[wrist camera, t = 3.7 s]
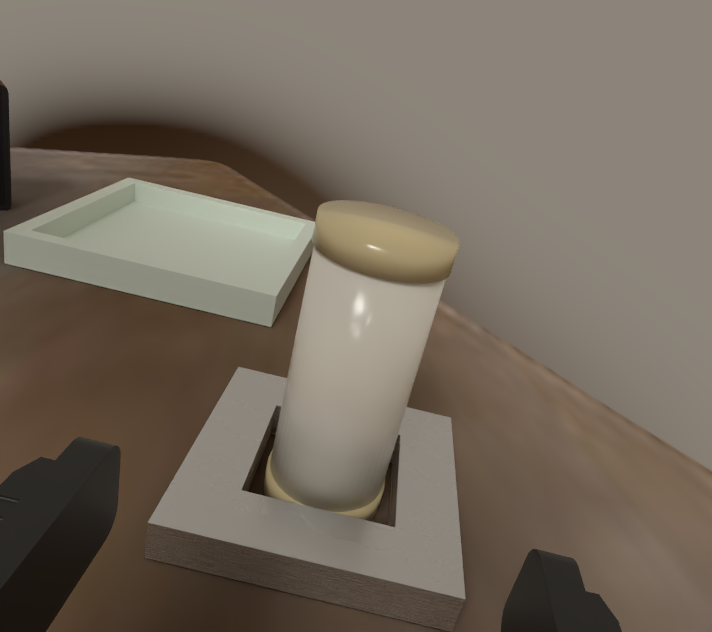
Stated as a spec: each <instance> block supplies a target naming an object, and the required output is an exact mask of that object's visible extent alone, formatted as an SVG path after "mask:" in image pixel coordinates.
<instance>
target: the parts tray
mask: <svg viewBox="0 0 712 632" xmlns="http://www.w3.org/2000/svg"><path fill="white" fill-rule="evenodd" d="M314 226H315V222H312V221H308V220H304V219H300V218H296V217H292V216H287V215H283V214H279V213H275V212H271V211H266V210H262V209H258V208H254V207H250V206H245V205H241V204H237V203H233V202H229V201H225V200H220V199H216V198H212V197H208V196H204V195H199V194H195V193H191V192H187V191H183V190H179V189H174V188H170V187H166V186H162V185H158V184H153V183H149V182H145V181H141V180H137V179H132V178H126V179H124V180H122V181H119V182H117V183H115V184H112V185H110V186H108V187H105V188H103V189H101V190H98V191H96V192H93V193H91V194H89V195H86V196H84V197H82V198H79V199H77V200H75V201H72V202H70V203H68V204H65V205H63V206H61V207H58V208H56V209H54V210H51V211H49V212H47V213H44V214H42V215H40V216H37V217H35V218H33V219H30V220H28V221H26V222H23V223H21V224H18V225H16V226H14V227H11V228H9V229H7V230H4V231H3V232H4V262H5V264H10V265H14V266H18V267H22V268H26V269H30V270H35V271H39V272H43V273H47V274H51V275H55V276H60V277H64V278H68V279H72V280H76V281H80V282H85V283H89V284H93V285H97V286H101V287H105V288H110V289H114V290H118V291H122V292H126V293H131V294H135V295H139V296H143V297H147V298H151V299H156V300H160V301H164V302H168V303H172V304H176V305H181V306H185V307H189V308H193V309H197V310H201V311H206V312H210V313H214V314H218V315H222V316H226V317H231V318H235V319H239V320H243V321H247V322H251V323H256V324H260V325H264V326H268V327H271V326H272V325H273V323H274V321H275V319H276V317H277V315H278V314H279V312H280V310H281V308H282V306H283V305H284V303H285V301H286V299H287V297H288V295H289V294H290V292H291V290H292V288H293V286H294V285H295V283H296V281H297V279H298V277H299V275H300V274H301V272H302V270H303V268H304V266H305V264H306V263H307V261H308V259H309V257H310V255H311V254H312V252H313V247H314V245H313V243H312V236H313V231H314Z"/></svg>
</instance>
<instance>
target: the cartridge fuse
mask: <svg viewBox="0 0 712 632" xmlns="http://www.w3.org/2000/svg"><path fill="white" fill-rule="evenodd" d="M312 243H313V245H314V247H313V252H312V257H311V262H310V267H309V272H308V277H307V282H306V287H305V292H304V297H303V302H302V307H301V312H300V317H299V322H298V327H297V332H296V337H295V342H294V347H293V351H292V356H291V361H290V366H289V371H288V376H287V381H286V386H285V391H284V396H283V401H282V406H281V411H280V416H279V421H278V426H277V431H276V436H275V441H274V446H273V450H272V451H271V453H270V455H269V458H268V462H267V467H266V472H265V477H264V484H263V488H264V494H265V496H267V497H272V498H276V499H280V500H284V501H288V502H292V503H296V504H301V505H305V506H309V507H313V508H317V509H321V510H325V511H330V512H334V513H338V514H342V515H346V516H350V517H354V518H359V519H363V520H367V521H371V520H372V519H373V518H374V516H375V515H376V513H377V510H378V507H379V504H380V501H381V498H382V494H383V491H384V487H385V476H386V472H387V469H388V466H389V463H390V459H391V456H392V453H393V450H394V446H395V443H396V440H397V436H398V433H399V430H400V427H401V423H402V420H403V417H404V414H405V410H406V407H407V404H408V400H409V397H410V394H411V391H412V387H413V384H414V381H415V378H416V374H417V371H418V368H419V365H420V361H421V358H422V355H423V351H424V348H425V345H426V342H427V338H428V335H429V332H430V329H431V325H432V322H433V319H434V315H435V312H436V309H437V306H438V302H439V299H440V296H441V292H442V289H443V286H444V283H445V280H446V278H448V277H449V275H450V274H451V271H452V267H453V264H454V261H455V258H456V255H457V251H458V248H459V245H460V241H459V239H458V237H457V236H456V235H455V234H454V233H453V232H452V231H450V230H449V229H447V228H446V227H444V226H442V225H441V224H439V223H436V222H435V221H432V220H430V219H427V218H425V217H423V216H420V215H417V214H414V213H411V212H408V211H405V210H401V209H398V208H394V207H390V206H385V205H381V204H375V203H369V202H362V201H348V200H343V201H342V200H338V201H330V202H326V203H323V204H322V205H320V206H319V208H318V211H317V217H316V221H315V226H314V231H313V236H312Z"/></svg>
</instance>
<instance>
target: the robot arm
mask: <svg viewBox="0 0 712 632" xmlns="http://www.w3.org/2000/svg"><path fill="white" fill-rule="evenodd" d="M119 472H120V448H119V447H118V446H115V445H111V444H107V443H103V442H99V441H95V440H91V439H87V438H82V437H78V438H76V439H75V440H74V441H73V442H72V443H71V444H70V445H69V446H68V447H67V448H66V449H65V450H64V451H63V453H62V454H61V455H60V456H59V457H58V458H57V459H56V460H51V459H47V458H43V457H40V458H38V459H37V460H35V461H33V462H31V463H29V464H27V465H25V466H24V467H22V468H20V469H18V470H16V471H14V472H13V473H12V474H11V475H10V476H9V477H8V478H7V479H6V480H5V481H4V482H3V483H2V484H1V485H0V632H46V631H47V629H48V628H49V626H50V624H51V623H52V621H53V620H54V618H55V617H56V615H57V614H58V612H59V611H60V609H61V608H62V606H63V605H64V603H65V601H66V600H67V598H68V597H69V595H70V594H71V592H72V591H73V589H74V588H75V586H76V585H77V583H78V581H79V580H80V578H81V577H82V575H83V574H84V572H85V571H86V569H87V568H88V566H89V565H90V563H91V562H92V560H93V558H94V557H95V555H96V554H97V552H98V551H99V549H100V548H101V546H102V545H103V543H104V542H105V540H106V538H107V536H108V534H109V532H110V530H111V528H112V525H113V522H114V519H115V516H116V511H117V504H118V488H119ZM501 632H622V631H621V628H620V625H619V622H618V621H617V619H616V618H615V616H614V615H613V614H612V612H611V611H610V609H609V608H608V607H607V605H606V604H605V602H604V601H603V600H602V598H601V597H600V595H599V594H595V593H591V592H586V591H585V588H584V585H583V581H582V578H581V575H580V571H579V568H578V565H577V563H576V561H575V560H574V559H573V558H570V557H565V556H561V555H557V554H553V553H549V552H545V551H541V550H537V549H533V550H531V551H530V552H529V554H528V556H527V558H526V560H525V562H524V564H523V566H522V568H521V571H520V573H519V575H518V577H517V579H516V582H515V584H514V586H513V588H512V590H511V593H510V595H509V597H508V599H507V601H506V604H505V607H504V611H503V616H502V623H501Z"/></svg>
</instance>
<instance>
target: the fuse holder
mask: <svg viewBox="0 0 712 632" xmlns="http://www.w3.org/2000/svg"><path fill="white" fill-rule="evenodd" d="M286 381H287V378H283V377H279V376H275V375H271V374H267V373H263V372H258V371H254V370H250V369H246V368H242V367H238V369H237V370H236V372H235V374H234V375H233V377H232V379H231V381H230V382H229V384H228V386H227V387H226V389H225V391H224V393H223V394H222V396H221V398H220V399H219V401H218V403H217V405H216V406H215V408H214V410H213V411H212V413H211V415H210V417H209V418H208V420H207V422H206V423H205V425H204V427H203V429H202V430H201V432H200V434H199V435H198V437H197V439H196V441H195V442H194V444H193V446H192V447H191V449H190V451H189V453H188V454H187V456H186V458H185V459H184V461H183V463H182V465H181V466H180V468H179V470H178V471H177V473H176V475H175V477H174V478H173V480H172V482H171V483H170V485H169V487H168V489H167V490H166V492H165V494H164V495H163V497H162V499H161V501H160V502H159V504H158V506H157V507H156V509H155V511H154V513H153V514H152V516H151V518H150V520H149V521H148V525H147V536H146V547H145V558H147V559H152V560H156V561H160V562H164V563H168V564H172V565H176V566H181V567H185V568H189V569H193V570H197V571H201V572H205V573H209V574H214V575H218V576H222V577H226V578H230V579H234V580H238V581H243V582H247V583H251V584H255V585H259V586H263V587H267V588H272V589H276V590H280V591H284V592H288V593H292V594H296V595H300V596H305V597H309V598H313V599H317V600H321V601H325V602H329V603H334V604H338V605H342V606H346V607H350V608H354V609H358V610H363V611H367V612H371V613H375V614H379V615H383V616H387V617H391V618H396V619H400V620H404V621H408V622H412V623H416V624H420V625H425V626H429V627H433V628H437V629H441V630H445V631H449V632H452V631H453V628H454V626H455V624H456V621H457V619H458V616H459V614H460V611H461V609H462V607H463V604H464V602H465V587H464V574H463V562H462V549H461V537H460V524H459V511H458V499H457V486H456V474H455V461H454V449H453V436H452V424H451V418H450V417H446V416H442V415H437V414H433V413H429V412H425V411H421V410H417V409H412V408H408V407H406V410H405V414H404V417H403V420H402V423H401V427H400V430H399V433H398V436H397V440H396V443H395V446H394V450H393V453H392V456H391V459H390V463H392V472H391V485H390V499H389V513H388V525H383V524H379V523H375V522H371V521H367V520H363V519H359V518H354V517H350V516H346V515H342V514H338V513H334V512H330V511H325V510H321V509H317V508H313V507H309V506H305V505H301V504H296V503H292V502H288V501H284V500H280V499H276V498H272V497H267V496H263V495H259V494H255V493H251V492H248V491H249V488H250V485H251V483H252V480H253V478H254V475H255V473H256V470H257V468H258V465H259V463H260V460H261V458H262V455H263V453H264V450H265V448H266V445H267V442H268V440H269V437H270V435H271V434H273V435H276V431H277V426H278V421H279V416H280V411H281V406H282V401H283V396H284V391H285V386H286Z"/></svg>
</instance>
